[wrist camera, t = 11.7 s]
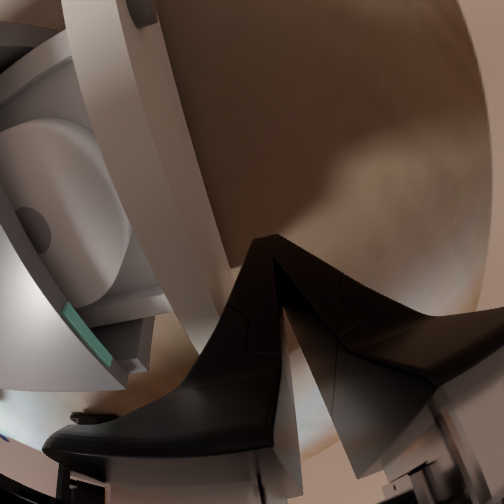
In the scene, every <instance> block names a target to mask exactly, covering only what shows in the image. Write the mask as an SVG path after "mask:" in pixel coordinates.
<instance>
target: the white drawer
mask: <svg viewBox="0 0 504 504" xmlns="http://www.w3.org/2000/svg"><path fill="white" fill-rule="evenodd" d="M61 2H62V9H63V15H64V20H65V26H66V29H65V30H63V31H62V32H60V33H58V34H57V35H55V36H53V37H52V38H50V39H49V40H47V41H45V42H44V43H42V44H41V45H39V46H38V47H36V48H35V49H33V50H32V51H30V52H29V53H28V54H26V55H25V56H23V57H22V58H21V59H19V60H18V61H17V62H15V63H14V64H13V65H12V66H10V67H9V68H8V69H6V70H5V71H4V72H3V73H2V74H0V132H2V131H4V130H7V129H9V128H12V127H14V126H17V125H19V124H22V123H25V122H27V121H30V120H33V119H36V118H41V117H60V118H65V119H69V120H71V121H74V122H77V123H79V124H81V125H83V126H84V127H86V128H88V129H89V130H91V131H92V132H93V133H94V134H95V137H96V139H97V142H98V145H99V148H100V151H101V154H102V156H103V159H104V162H105V164H106V167H107V170H108V172H109V175H110V177H111V180H112V182H113V185H114V187H115V190H116V192H117V195H118V197H119V199H120V202H121V204H122V206H123V209H124V211H125V213H126V216H127V218H128V220H129V222H130V225H131V227H132V229H133V231H132V236H131V240H130V243H129V246H128V248H127V251H126V253H125V256H124V259H123V261H122V264H121V266H120V269H119V272H118V275H117V277H116V279H115V281H114V283H113V284H112V286H111V287H110V288H109V290H108V291H107V292H106V293H105V294H104V295H103V296H102V297H101V298H99V299H98V300H96V301H95V302H93V303H91V304H89V305H87V306H84V307H81V308H77V309H74V310H75V311H76V312H77V314H78V315H79V316H80V318H81V319H82V320H83V321H84V323H85V324H86V325H87V327H88V328H92V327H98V326H103V325H109V324H114V323H119V322H125V321H130V320H135V319H140V318H145V317H150V316H155V315H159V314H164V313H169V312H175V314H176V316H177V318H178V320H179V321H180V323H181V325H182V327H183V328H184V330H185V332H186V334H187V335H188V337H189V339H190V340H191V342H192V344H193V345H194V347H195V349H196V350H197V352H198V354H199V355H200V353H201V352H202V350H203V348H204V347H205V345H206V343H207V342H208V340H209V338H210V336H211V335H212V333H213V331H214V329H215V327H216V325H217V323H218V321H219V319H220V317H221V315H222V312H223V310H224V307H225V306H226V303H227V300H228V298H229V296H230V293H231V291H232V288H233V286H234V280H233V276H232V273H231V269H230V266H229V263H228V260H227V257H226V254H225V251H224V247H223V244H222V241H221V238H220V235H219V232H218V228H217V225H216V222H215V219H214V215H213V212H212V209H211V206H210V202H209V199H208V196H207V192H206V189H205V186H204V182H203V179H202V176H201V172H200V169H199V165H198V162H197V159H196V155H195V152H194V148H193V145H192V141H191V138H190V134H189V131H188V127H187V124H186V120H185V116H184V113H183V109H182V106H181V102H180V98H179V95H178V91H177V87H176V84H175V80H174V76H173V72H172V69H171V65H170V61H169V57H168V53H167V49H166V45H165V42H164V38H163V34H162V30H161V26H160V22H159V17H158V13H157V9H156V5H155V1H154V0H61Z"/></svg>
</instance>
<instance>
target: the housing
mask: <svg viewBox="0 0 504 504" xmlns="http://www.w3.org/2000/svg"><path fill="white" fill-rule="evenodd" d="M53 36H55V32H54V29H49V28H44V27H38V26H32V25H26V24H18V23H10V22H0V74H2V73H3V72H4V71H5V70H6V69H8V68H9V67H10V66H12V65H13V64H14V63H15V62H17V61H18V60H19V59H21V58H22V57H23V56H25V55H26V54H28V53H29V52H30V51H32V50H33V49H35V48H36V47H38V46H39V45H41V44H42V43H44V42H45V41H47V40H49V39H50V38H52V37H53ZM154 320H155V316H150V317H145V318H140V319H135V320H130V321H125V322H119V323H114V324H109V325H103V326H98V327H92V328H88V327H87V325H86V324H85V323H84V321H83V320H82V319H81V318H80V316H79V315H78V314H77V312H76V311H75V310H74V308H73V307H72V305H71V304H70V303H69V301H68V300H67V299H66V297H65V296H64V294H63V293H62V291H61V290H60V289H59V287H58V286H57V284H56V283H55V281H54V280H53V278H52V276H51V275H50V273H49V272H48V270H47V269H46V267H45V265H44V264H43V262H42V261H41V259H40V257H39V256H38V254H37V252H36V250H35V249H34V247H33V245H32V243H31V242H30V240H29V238H28V236H27V234H26V233H25V231H24V229H23V227H22V225H21V223H20V221H19V219H18V217H17V215H16V213H15V211H14V209H13V207H12V205H11V203H10V200H9V198H8V196H7V194H6V191H5V189H4V187H3V185H2V182H1V180H0V389H6V390H19V391H40V392H89V391H110V390H125V389H126V387H127V380H128V374H131V373H140V372H148V369H149V360H150V351H151V342H152V335H153V327H154Z"/></svg>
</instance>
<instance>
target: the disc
mask: <svg viewBox="0 0 504 504" xmlns="http://www.w3.org/2000/svg"><path fill="white" fill-rule="evenodd" d="M0 180H1V182H2V185H3V187H4V189H5V191H6V194H7V196H8V198H9V200H10V203H11V205H12V207H13V209H14V211H15V213H16V215H17V217H18V219H19V221H20V223H21V225H22V227H23V229H24V231H25V233H26V234H27V236H28V238H29V240H30V242H31V243H32V245H33V247H34V249H35V250H36V252H37V254H38V256H39V257H40V259H41V261H42V262H43V264H44V265H45V267H46V269H47V270H48V272H49V273H50V275H51V276H52V278H53V280H54V281H55V283H56V284H57V286H58V287H59V289H60V290H61V291H62V293H63V294H64V296H65V297H66V299H67V300H68V301H69V303H70V304H71V305H72V307H73V308H74V309H77V308H81V307H84V306H87V305H89V304H91V303H93V302H95V301H96V300H98V299H99V298H101V297H102V296H103V295H104V294H105V293H106V292H107V291H108V290H109V288H110V287H111V286H112V284H113V283H114V281H115V279H116V277H117V275H118V272H119V269H120V266H121V264H122V261H123V259H124V256H125V253H126V251H127V248H128V246H129V243H130V240H131V236H132V231H133V229H132V227H131V225H130V222H129V220H128V218H127V216H126V213H125V211H124V209H123V206H122V204H121V202H120V199H119V197H118V195H117V192H116V190H115V187H114V185H113V182H112V180H111V177H110V175H109V172H108V170H107V167H106V164H105V162H104V159H103V156H102V154H101V151H100V148H99V145H98V142H97V139H96V137H95V134H94V133H93V132H92V131H91V130H89V129H88V128H86V127H84V126H83V125H81V124H79V123H77V122H74V121H71V120H69V119H65V118H60V117H41V118H36V119H33V120H30V121H27V122H25V123H22V124H19V125H17V126H14V127H12V128H9V129H7V130H4V131H2V132H0Z"/></svg>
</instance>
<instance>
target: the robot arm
mask: <svg viewBox="0 0 504 504" xmlns="http://www.w3.org/2000/svg"><path fill="white" fill-rule="evenodd" d="M283 308H284V310H285V312H286V315H287V317H288V319H289V321H290V324H291V326H292V328H293V331H294V333H295V335H296V338H297V340H298V342H299V344H300V347H301V349H302V351H303V354H304V356H305V358H306V361H307V363H308V365H309V367H310V370H311V372H312V374H313V377H314V379H315V381H316V384H317V386H318V388H319V391H320V393H321V395H322V398H323V400H324V402H325V405H326V407H327V409H328V412H329V414H330V416H331V418H332V421H333V423H334V426H335V428H336V430H337V433H338V435H339V437H340V440H341V442H342V444H343V447H344V449H345V452H346V454H347V456H348V459H349V461H350V463H351V466H352V468H353V470H354V473H355V475H356V477H357V479H360V478H363V477H366V476H369V475H371V474H374V473H376V472H379V471H381V470H384V472H385V474H386V477H387V480H388V483H389V484H388V485H386V486H384V487H382V489H383V493H384V496H385V499H386V500H383V501H381V502H379V503H376V504H504V307H500V308H496V309H490V310H483V311H477V312H470V313H463V314H455V315H448V316H429V315H426V314H422V313H420V312H417V311H415V310H413V309H411V308H409V307H407V306H405V305H403V304H401V303H399V302H396V301H394V300H392V299H390V298H388V297H386V296H384V295H382V294H380V293H378V292H376V291H374V290H372V289H370V288H368V287H366V286H364V285H363V284H361V283H359V282H357V281H356V280H354V279H352V278H351V277H349V276H347V275H344V273H342V272H341V271H339V270H337V269H336V268H334V267H333V266H331V265H329V264H328V263H326V262H324V261H323V260H321V259H319V258H318V257H316V256H314V255H313V254H311V253H309V252H308V251H306V250H304V249H303V248H301V247H299V246H297V245H296V244H294V243H292V242H291V241H289V240H287V239H286V238H284V237H282V236H280V235H279V234H273V235H269V236H266V237H261V238H256V239H254V240H253V241H252V243H251V246H250V248H249V250H248V253H247V255H246V257H245V260H244V262H243V265H242V267H241V269H240V272H239V274H238V277H237V279H236V281H235V284H234V286H233V288H232V291H231V293H230V296H229V298H228V300H227V303H226V306H225V307H224V310H223V312H222V315H221V317H220V319H219V321H218V323H217V325H216V327H215V329H214V331H213V333H212V335H211V336H210V338H209V340H208V342H207V343H206V345H205V347H204V348H203V350H202V352H201V353H200V355H199V357H198V358H197V360H196V362H195V363H194V365H193V367H192V368H191V370H190V372H189V373H188V375H187V376H186V378H185V379H184V381H183V382H182V383H181V384H180V385H179V386H178V387H177V388H176V389H175V390H173V391H172V392H170V393H169V394H167V395H165V396H163V397H161V398H159V399H157V400H155V401H153V402H151V403H149V404H147V405H145V406H143V407H141V408H139V409H137V410H135V411H133V412H131V413H129V414H127V415H124V416H122V417H120V418H119V417H117V416H91V415H71V416H70V419H71V420H72V421H74V422H75V423H77V424H78V425H68V426H65V427H63V428H62V429H60V430H58V431H56V432H55V433H53V434H52V435H51V436H50V437H49V438H48V439H47V440H46V442H45V443H44V445H43V448H42V451H43V452H44V454H46V455H47V456H48V457H50V458H51V459H53V460H54V461H56V462H58V463H59V470H58V479H57V489H56V498H54V497H51V496H48V495H46V494H43V493H41V492H38V491H36V490H33V489H31V488H29V487H26V486H24V485H22V484H21V483H19V482H16V481H14V480H12V479H10V478H8V477H6V476H4V475H3V474H1V473H0V504H288V501H287V499H288V498H293V497H298V496H302V495H303V485H302V474H301V463H300V452H299V442H298V432H297V422H296V413H295V404H294V395H293V386H292V377H291V369H290V360H289V352H288V344H287V336H286V328H285V320H284V312H283ZM70 475H71V476H74V477H78V478H81V479H85V480H88V481H92V482H95V483H99V484H103V485H105V488H104V487H101V486H97V485H93V484H89V483H86V482H82V481H79V480H77V481H76V480H73V479H70ZM69 487H70V488H69ZM71 488H72V489H71Z"/></svg>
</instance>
